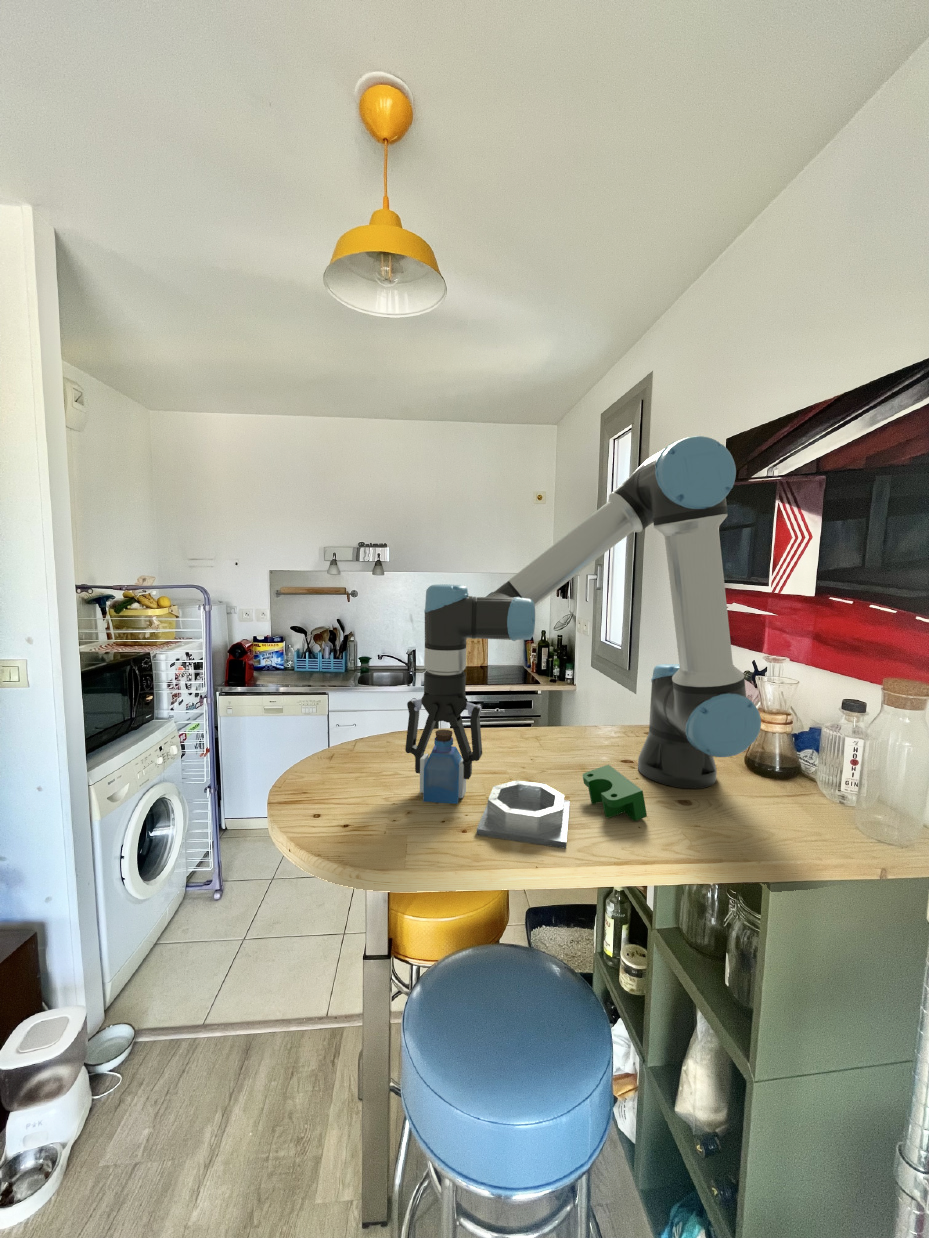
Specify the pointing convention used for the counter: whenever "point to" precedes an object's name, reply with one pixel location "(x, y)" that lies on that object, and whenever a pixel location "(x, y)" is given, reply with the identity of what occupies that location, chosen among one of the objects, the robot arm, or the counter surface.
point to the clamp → (615, 793)
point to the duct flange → (526, 814)
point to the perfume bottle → (442, 770)
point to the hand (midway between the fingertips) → (442, 791)
